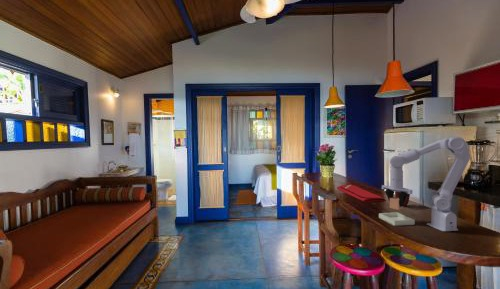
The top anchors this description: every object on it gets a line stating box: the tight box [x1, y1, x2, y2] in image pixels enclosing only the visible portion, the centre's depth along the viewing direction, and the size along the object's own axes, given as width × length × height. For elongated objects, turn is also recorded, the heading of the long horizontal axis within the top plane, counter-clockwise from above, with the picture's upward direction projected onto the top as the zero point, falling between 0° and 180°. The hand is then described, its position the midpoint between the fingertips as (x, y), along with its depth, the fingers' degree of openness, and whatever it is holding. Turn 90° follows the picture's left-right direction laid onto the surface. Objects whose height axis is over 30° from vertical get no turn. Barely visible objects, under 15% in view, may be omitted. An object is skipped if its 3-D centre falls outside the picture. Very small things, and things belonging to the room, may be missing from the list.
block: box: [389, 196, 404, 211], centre depth 130 cm, size 4×4×5 cm
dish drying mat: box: [336, 184, 386, 203], centre depth 189 cm, size 16×41×4 cm, turn 6°
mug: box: [394, 191, 411, 208], centre depth 156 cm, size 11×8×10 cm
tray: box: [378, 211, 416, 227], centre depth 130 cm, size 12×11×2 cm
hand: (396, 205), depth 130 cm, fingers closed on block, 4 cm apart
